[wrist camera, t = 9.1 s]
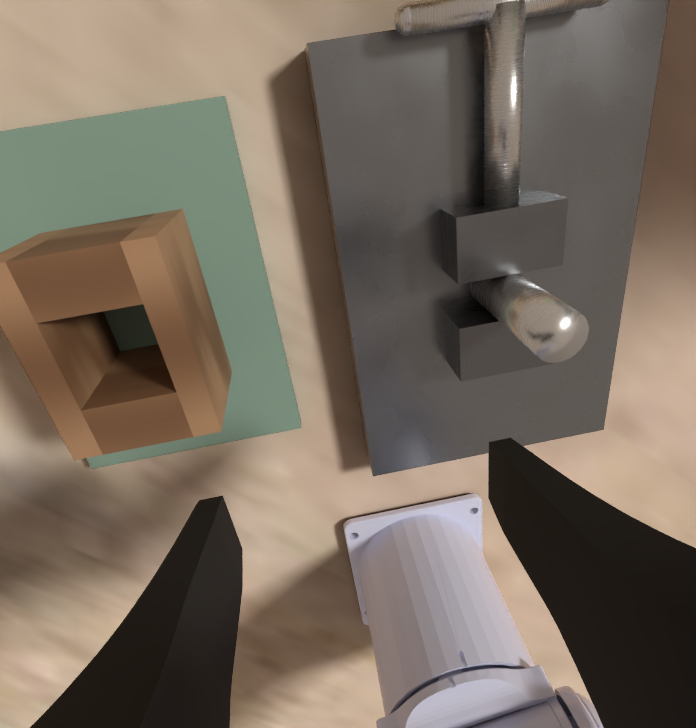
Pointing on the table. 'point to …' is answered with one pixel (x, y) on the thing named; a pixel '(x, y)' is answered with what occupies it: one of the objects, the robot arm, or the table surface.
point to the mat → (154, 195)
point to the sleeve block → (97, 343)
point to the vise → (485, 214)
